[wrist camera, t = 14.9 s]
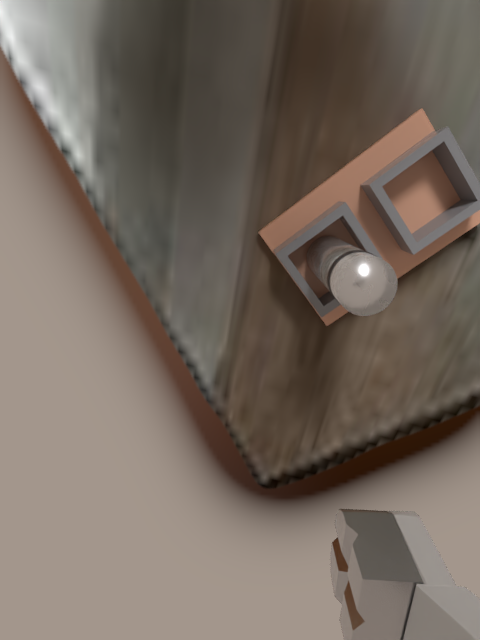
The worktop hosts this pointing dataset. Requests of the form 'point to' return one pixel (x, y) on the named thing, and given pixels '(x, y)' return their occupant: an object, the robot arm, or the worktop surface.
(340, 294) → the grey capped bottle
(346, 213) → the grey double cup holder
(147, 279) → the worktop surface
